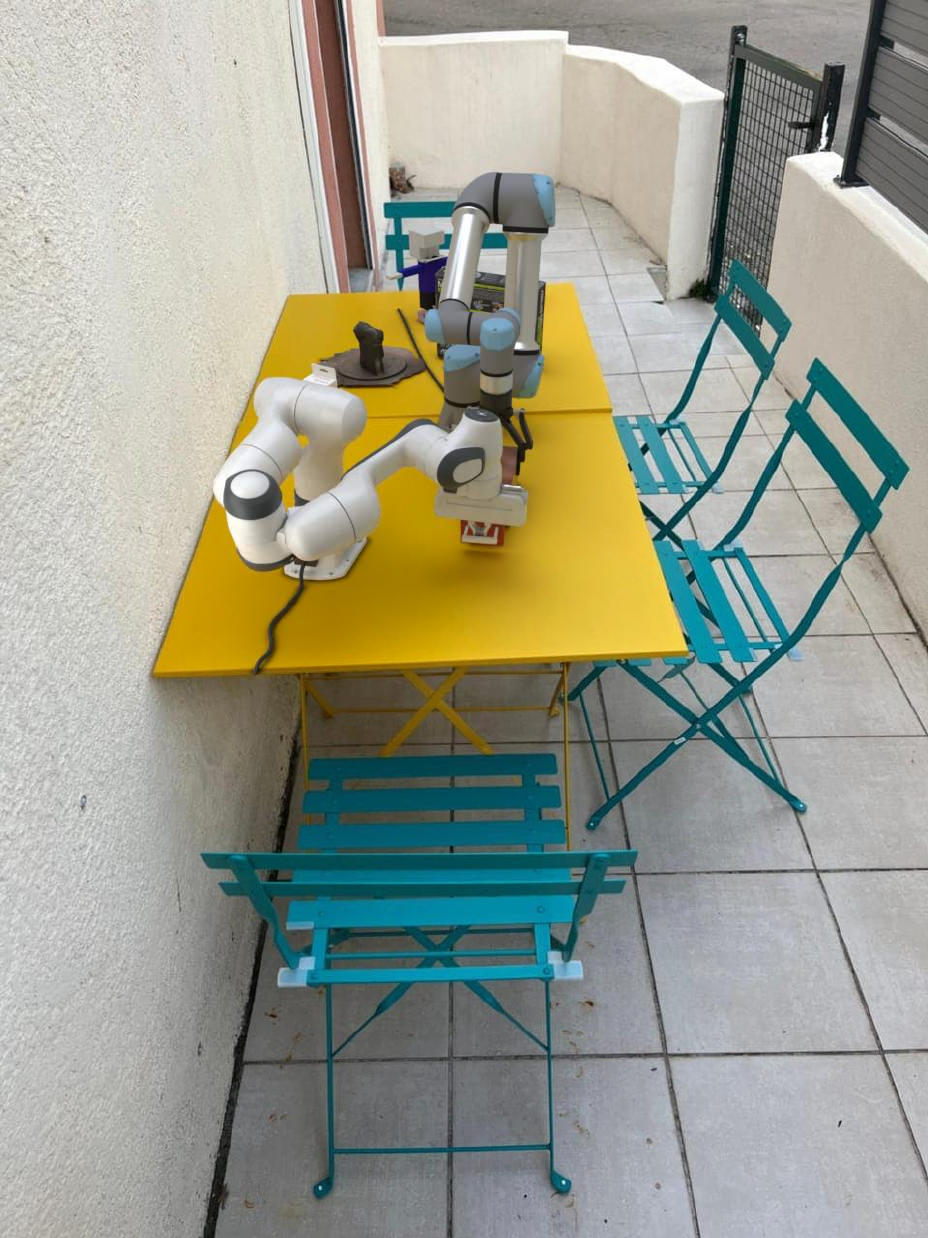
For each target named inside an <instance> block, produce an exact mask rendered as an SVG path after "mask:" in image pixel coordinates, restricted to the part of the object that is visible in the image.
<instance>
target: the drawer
mask: <svg viewBox="0 0 928 1238" xmlns="http://www.w3.org/2000/svg"><path fill="white" fill-rule="evenodd" d="M475 523H476V525H477V526H478V527H485V523H484V522H476V521H475ZM460 543H461V544H470V545H471V544H472V545H486V546H498V547H499V546H500V547H504V545H505V525H501V524H493V523H492V524H491V527H490V528H489V529H488V531H487V536H486V537H483V536H473V530H472V529H471V527H470V526H469V525H468V520H460Z"/></svg>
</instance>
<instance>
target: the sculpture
mask: <svg viewBox="0 0 928 1238" xmlns="http://www.w3.org/2000/svg"><path fill="white" fill-rule="evenodd" d="M352 332H353V335H354V337H355V338H356V340H357V342H358V347H357V348H350V349H349V350H345V351H343V352H335V353H333V356H332V357H329V358H320V361H321V362H317V363H316V364H317V365H322V366H326V367H330V368H334V369H335V372H336V379H337V387H339V386H340V385H342V386H344V387H346V386H355V385H358V386H359V385H360V386H362V385H363V386H371V385H372V386H376V385H378V386H379V385H388V386H391V385H392V386H394V387H396V386H395V385H394V384H395V383H399V382H400V380H401V379H403V378H407V377H411V376H412V375H414V374H416V373H417V374H418V373H420V372H422V371H424V370H426V367H425V364H424V362H423V360H422V359H421V358H417V357H416V356H415V355H414V352H413V351H412V350H409V349H408V348H404V347H396V346H389V345H387V346H386V345H383V342H384V337H385V336H384V335H385V333H384V331H383V330H382V329H381V328H376V327H374V326H373V325H371V324H369V323H368V322H366V321H363V320H358V322H357V324H355V326H353V329H352ZM424 361H425V359H424ZM425 362H426V361H425ZM319 370H320V371H323V372H327V373H328V371H327V370H324V369H319ZM393 383H394V384H393Z"/></svg>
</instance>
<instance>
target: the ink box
mask: <svg viewBox="0 0 928 1238" xmlns="http://www.w3.org/2000/svg"><path fill="white" fill-rule="evenodd" d="M319 369H324V370H327V371H328V373H327V372H323V371H320V370H319ZM311 371H312V373H311V374H309V375H307V376H306V377H305V378H303V379H302V380H303V381H307V382H311V383H317V384H321V385H326V386H330V387H335V388H338V386H337V379H336V372H335V369H334V368H330V367H326V366H322V365H317V363H311Z"/></svg>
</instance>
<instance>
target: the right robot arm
mask: <svg viewBox="0 0 928 1238" xmlns="http://www.w3.org/2000/svg"><path fill="white" fill-rule="evenodd" d="M555 191H556V190H555V183H554V180H553V179H552V177H551V176H549V175H547V174H540V173H535V172H533V173H528V172H527V173H526V172H525V173H524V172H498V171H491V172H490V171H489V172H485V173H483V174H481V175H479V176H477V177H475V178H473V180H471V182H469V183H468V184H467V185H466V187H464V189H463V190H462V191H461V192H460V194H459V196H458V197H457V199H456V201H455V203H454V206H453V209H452V212H451V218H450V221H451V225H452V227H453V228H452V234H451V239H450V243H449V249H448V253H447V254H448V255H447V256H448V259H447V264H446V266H445V267H446V269H445V274H444V279H443V284H442V289H441V294H440V299H439V304H438V309H430V310H428V312H427V314H426V317H425V324H424V335H425V339H426V340H427V341H428V342H430V343H435V344H437V343H440V344H456V345H454V346H452V347H450V348H449V349H448V350H447V351H446V352H445V354H444V358H443V365H442V370H443V385H442V383H441V382H440V381H439V380H438V378H437V377H436V376H435V374H434V373H433V372H432V370H431V369H430V367H429V366H428V364H427V362H426V361H424V360H425V359H424V357H423V355H422V354H421V351H420V350H419V348H418V346H417V343H416V342H415V339H414V337H413V334H412V332H411V329H410V327H409V325H408V322H407V320H406V318H405V316H404V314H403V312H402V311H401V309H400V308H397V311H398V313H399V315H400V317H401V319H402V322H403V323H404V326H405V327H406V330H407V332H408V335H409V337H410V340H411V342H412V344H413V347H414V349H415V351H416V353H417V355H418V358H419V359H422V360H423V362H424V364H425V369H426V370H427V372H428V373H429V374H430V376H431V378H433V380H434V381H435V382H436V384H437V385H438V387H440V389H441V391H442V392H443V404H442V406H441V410H440V414H439V416H438V421H437V422H438V423H437V425H438V426H439V427H440V428H442V429H443V430H444V431H445V432H447V433H448V434H450V433H451V432H452V431H453V430H454V429H455V428H456V427H457V426H458V425H459V423H460V422H461V420H462V416H463V413H464V412H465V411H466V410H469V409H483V410H487V411H489V412H491V413H493V414H495V415H496V416H497V417H498V418H499V419H500V422H501V426H502V428H504V430H505V431H506V432H507V433H508V434H509V437H511V439H512V441H513V442H514V443H515V445H516V447H518V450H517V469H516V476H518V477H520V473H521V463H525V461H526V453H527V452H526V451H527V450H530V451H531V450H533V448H534V439H533V437H532V434H531V431H530V427H529V425H528V422H527V420H526V409H525V408H524V407H521V408H520V409H514V408H513V399H517V400H519V399H525V400H526V399H527V400H528V399H529V400H531V399H533V398H535V397H536V395H538V392H539V387H540V384H541V380H542V376H543V375H542V374H543V371H544V365H545V359H546V357H545V355H544V354H543V353H542V354H539V350H540V347H539V346H538V344H537V343H536V342H535V327H536V313H537V299H538V285H539V280H540V271H541V270H540V269H541V257H542V243H543V241H544V240H545V239H546V238H547V237H548V236H549V233H550V232H549V230H550V229H551V228H553V227H555V226H556V213H557V211H556V209H557V208H556V192H555ZM494 224H495V225H502V229H501V233H502V234H503V235H504V237H505V238H506V240H507V247H506V265H505V275H506V279H505V296H504V308H501V309H499V310H497V311H496V312H495V313H481V312H469V311H470V306H471V300H472V295H473V289H474V284H475V279H476V273H477V271H478V267H479V263H480V257H481V251H482V247H483V240H484V235H485V234H487V232H488V231H489V229H490V225H494ZM513 416H514V417H515V419H516V420H518V424H519V427H520V430H521V433H522V435H523V437H522V436H521V434H520V433H519V431H518V430H517V428H516V427H515V426H514V424H513V421H512V419H511V418H513Z"/></svg>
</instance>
